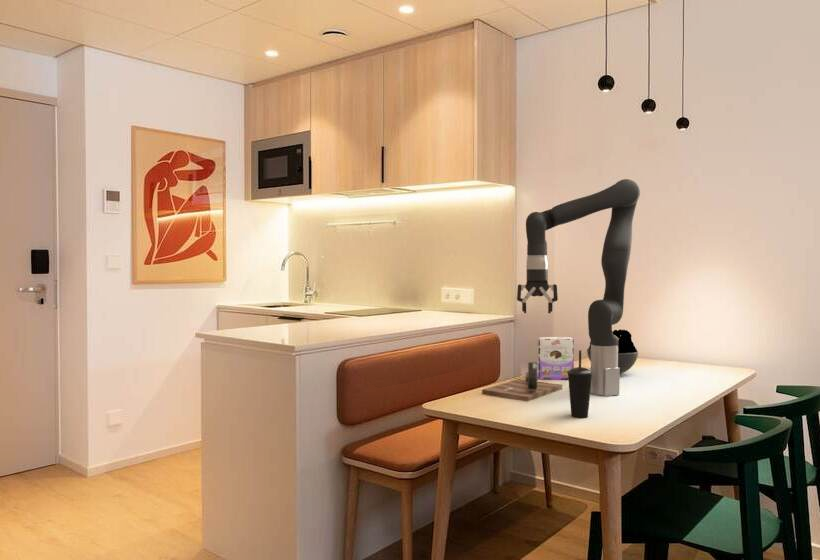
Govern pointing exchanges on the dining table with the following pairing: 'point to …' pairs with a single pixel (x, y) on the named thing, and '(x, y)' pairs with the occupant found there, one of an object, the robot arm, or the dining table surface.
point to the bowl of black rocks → (623, 350)
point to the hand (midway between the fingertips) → (537, 313)
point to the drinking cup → (579, 390)
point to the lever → (532, 376)
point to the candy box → (554, 357)
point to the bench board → (521, 390)
